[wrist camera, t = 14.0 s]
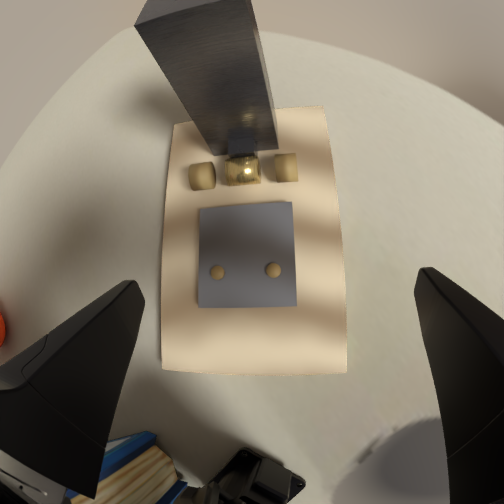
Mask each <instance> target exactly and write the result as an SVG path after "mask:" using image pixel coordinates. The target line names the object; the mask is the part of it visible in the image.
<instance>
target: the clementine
mask: <svg viewBox="0 0 504 504" xmlns="http://www.w3.org/2000/svg"><path fill="white" fill-rule="evenodd" d="M4 338H5V323H4V320H3V318H2V315H1V313H0V347H1V345H2V344H3V341H4Z"/></svg>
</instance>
